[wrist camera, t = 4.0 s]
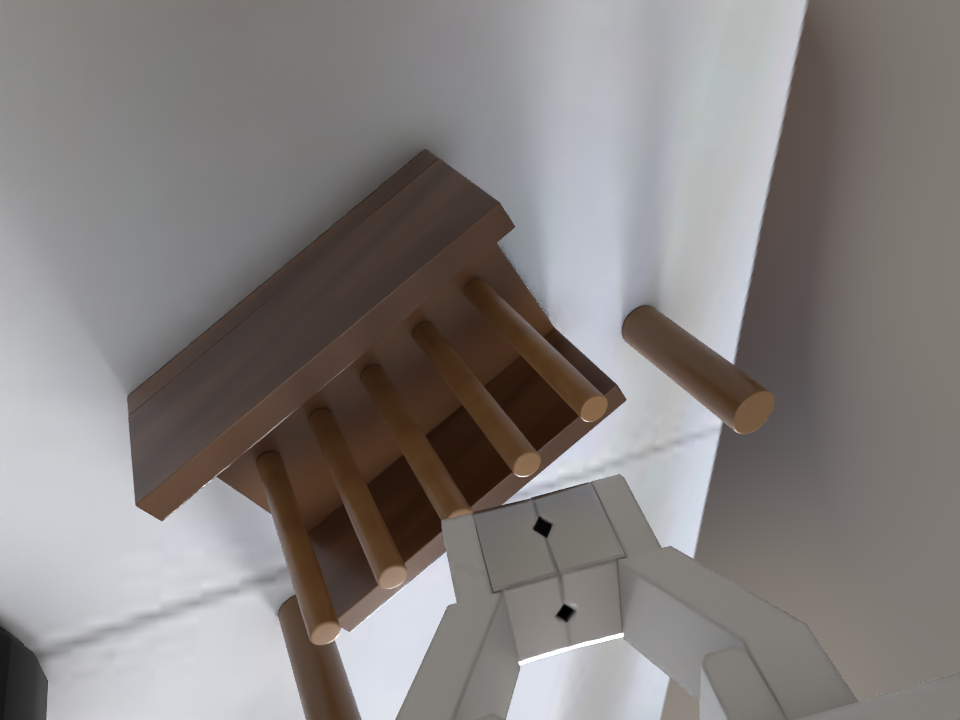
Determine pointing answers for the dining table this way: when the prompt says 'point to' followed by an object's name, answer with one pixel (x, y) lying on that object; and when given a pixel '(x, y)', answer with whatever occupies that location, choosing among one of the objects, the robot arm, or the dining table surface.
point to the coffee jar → (20, 681)
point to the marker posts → (663, 346)
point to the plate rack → (372, 394)
